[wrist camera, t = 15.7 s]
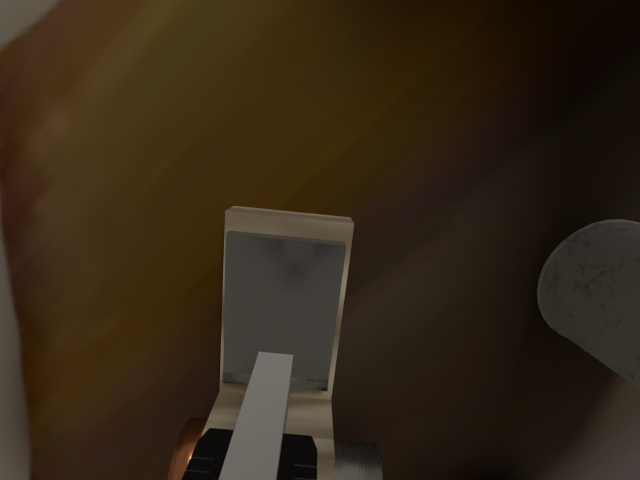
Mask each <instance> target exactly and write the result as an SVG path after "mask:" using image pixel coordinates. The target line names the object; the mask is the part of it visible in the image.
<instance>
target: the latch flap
mask: <svg viewBox="0 0 640 480" xmlns="http://www.w3.org/2000/svg"><path fill="white" fill-rule="evenodd" d="M346 246H347V245H346V242H344V241H334V240H324V239H313V238H303V237H293V236H282V235H272V234H262V233H251V232H241V231H231V230H229V231H228V232H227V233H226V248H225V305H224V362H223V378H222V382H223V383H226V384H238V385H249V381H250V378H251V375H252V372H253V369H254V366H255V362H256V359H257V356H258V353H259V352H268V353H279V354H289V355H293V364H292V375H291V386H290V389H301V390H314V391H326V392H327V391H328V381H329V373H330V366H331V358H332V351H333V343H334V336H335V328H336V321H337V314H338V306H339V299H340V291H341V284H342V276H343V269H344V261H345V254H346Z"/></svg>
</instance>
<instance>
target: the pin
mask: <svg viewBox="0 0 640 480" xmlns="http://www.w3.org/2000/svg"><path fill="white" fill-rule="evenodd" d="M207 420H208V419H207V418H193V417H192V418H190V419H189V420H188V421H187V422H186V424H185V426H184V427H183V429H182V431H181V434H180V436H179V439H178V441H177V444H176V447H175V450H174V454H173V457H172V461H171V465H170V469H169V474H168V480H181V479H182V477H183V474H184V472H185V471H186V467H187V465H188V463H189V460H190V459H191V456H192V453H193V451H194V449H195V446H196V444H197V442H198V440H199V439H200V437H201V435H202V432H203V430H204V427H205V425H206V423H207ZM334 453H335V463H334V470H333V477H332V480H382V463H381V456H380V451H379V448H378V445H377V444H376V443H363V442H349V441H336V440H334Z"/></svg>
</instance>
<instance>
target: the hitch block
mask: <svg viewBox="0 0 640 480" xmlns="http://www.w3.org/2000/svg"><path fill="white" fill-rule="evenodd" d="M353 229H354V223H353V221H352V219H351V218H350V217H340V216H330V215H320V214H310V213H300V212H290V211H280V210H270V209H260V208H249V207H239V206H233V207H231V208H230V209H228V210H226V211H225V236H224V268H223V300H222V333H221V365H220V391H219V394H218V396H217V399H216V401H215V403H214V406H213V408H212V411H211V413H210V415H209V418H208V420H207V423H206V425H205V427H204V430H203V432H202V435H201V437H202V436H203V435H204V433H205V432H206V431H207V430H208V429H209V428H218V429H229V430H234V429H235V426H236V423H237V420H238V416H239V413H240V410H241V407H242V404H243V401H244V397H245V394H246V391H247V388H248V385H238V384H226V383H223V382H222V378H223V362H224V305H225V248H226V233H227V232H228V231H229V230H231V231H241V232H251V233H262V234H272V235H282V236H293V237H303V238H313V239H324V240H334V241H344V242H346V245H347V246H346V254H345V261H344V269H343V276H342V284H341V291H340V299H339V306H338V314H337V321H336V328H335V336H334V343H333V351H332V358H331V366H330V373H329V381H328V391H327V392H326V391H314V390H301V389H290V397H289V407H288V415H287V422H286V430H285V433H286V434H298V435H309V436H312V438H313V440H314V442H315V445H316V447H317V480H332V477H333V470H334V463H335V453H334V437H333V421H332V405H331V397H332V390H333V382H334V374H335V367H336V359H337V351H338V344H339V336H340V328H341V321H342V313H343V305H344V298H345V290H346V282H347V275H348V267H349V259H350V252H351V244H352V236H353ZM201 437H200V438H201Z"/></svg>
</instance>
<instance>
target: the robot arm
mask: <svg viewBox="0 0 640 480" xmlns="http://www.w3.org/2000/svg"><path fill="white" fill-rule="evenodd" d="M292 364H293V355H289V354H279V353H268V352H259V353H258V356H257V359H256V362H255V366H254V369H253V372H252V375H251V378H250V381H249V385H248V388H247V391H246V394H245V397H244V401H243V404H242V407H241V410H240V413H239V416H238V420H237V423H236V426H235V429H234V430H229V429H218V428H209V429H208V430H207V431H206V432H205V433H204V435H203V436H202V437H201V438H200V439H199V440H198V442H197V444H196V446H195V449H194V451H193V453H192V456H191V459H190V460H189V463H188V465H187V467H186V471H185V472H184V474H183V477H182V479H181V480H317V447H316V445H315V442H314V440H313V438H312V436H309V435H298V434H286V433H285V430H286V422H287V415H288V407H289V397H290V386H291V375H292Z"/></svg>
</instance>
